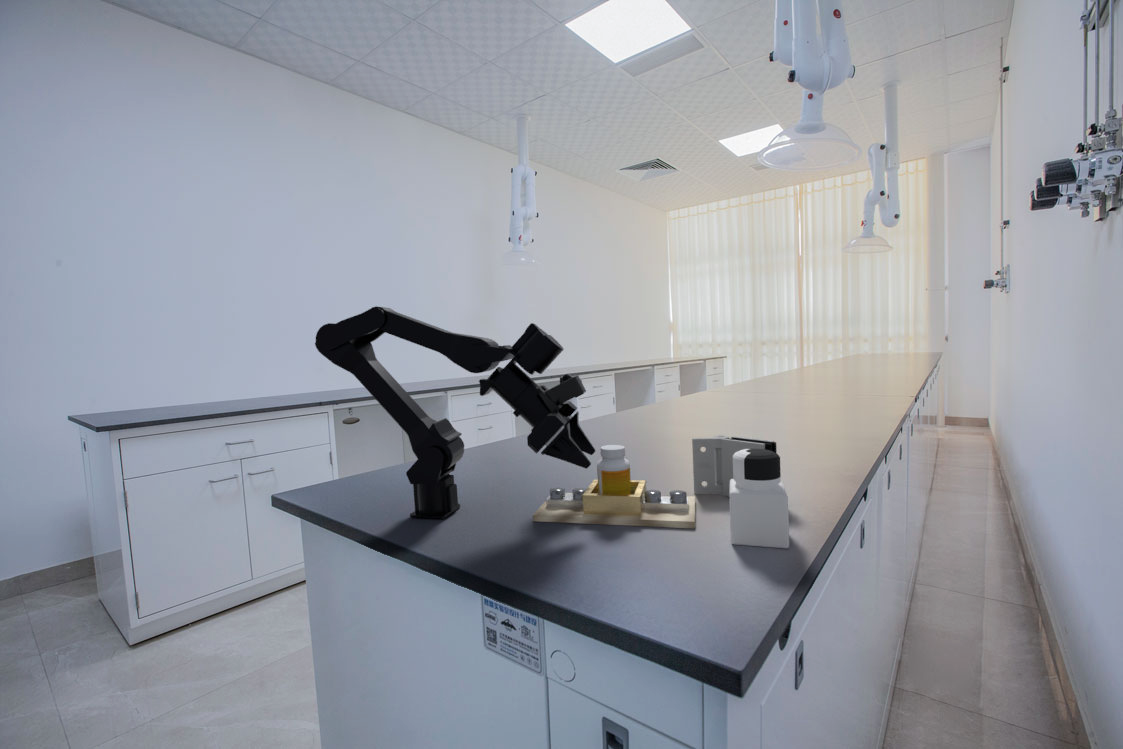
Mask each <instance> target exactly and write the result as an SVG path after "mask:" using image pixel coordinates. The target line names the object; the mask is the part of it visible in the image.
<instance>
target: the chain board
mask: <svg viewBox="0 0 1123 749" xmlns="http://www.w3.org/2000/svg"><path fill="white" fill-rule="evenodd" d="M565 493H566V494H573V493H572V492H565ZM687 497H688V504H689V505H688V512H679V511H652V510H643V511H642V514H641V516H627V515H602V514H584V511H583V508H570V507H546V500H545V501H544V502H543V503H542V504H541V505H540V507H539V508H538V509H537V510H536V511H535V512H534V513H533V514H532V522H542V523H545V522H547V523H549V522H550V523H561V524H562V523H563V524H565V523H567V524H568V523H569V524H585V525H586V524H588V525H591V524H592V525H611V526H613V525H614V526H631V527H652V528H653V527H655V528H675V529H676V528H677V529H678V528H679V529H695V528H696V496H694V495H693V496H692V495H691V496H689V495H687Z"/></svg>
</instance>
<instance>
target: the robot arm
mask: <svg viewBox="0 0 1123 749" xmlns="http://www.w3.org/2000/svg"><path fill="white" fill-rule="evenodd" d="M385 333H386V334H389V335H391V336H394V337H397V338H399V339H402V340H404V341H407V342H410V343H412V344H414V345H415V344H416V345H418V346H421V347H423V348H426V349H429V350H432V351H435V352H436V353H440V354H441V355H443V356H444V357H446V358H447V359H448V360H449V361H450V362H452V363H453V364H455V365H456V366H458V367H460V368H462V369H463V370H465V371H467V372H468V373H471V374H480V373H485V372H490V371H493V370H494V369H495V370H494V371H493V372H492V373H491V374H490V375H489V376H488V377H487V378H480V379H479V380H478V383H479V395H480V397H483V396H486V395H488V394H491V392H492V391H493V392H495V393H496V395H498V397H500V398H501V399H502V400H503V401H504V402H506V404H507V405H508V406H510V407H511V409H513V410H514V411H513V412H512V414H513V415H514V416H515V417H516V418H518V417H521V418H522V419H523V420H524V421H525V422H526V423H527V424H529V426H530V427H531V428H532V429H531V432H530V433H529V435H527V436H526V437H527V438H526V439H527V446H528V447H529V448H530V449H531V450H532V451H533V452H534V453H535V454H537V455H538V453H539V452H540V451H541V450H542V451H541V452H540V454H541V455H542V456H544V455H546V456H547V457H552V458H554V459H558V460H561V461H564V462H566V463H569V464H571V465H572V464H573V465H576V466H577V467H580V468H583V469H588V468H590V467H591V465H592V462H591V461H590V460H589V459H588V457H587V455H586V454H588V455H590V456H592V455H594V454H595V453H596V449H595V447H594V446H593V444H592V443H591V441H590V439H589V438H588V436H587V435H586V433H585V432H584V430H583V429H582V427H581V426H580V423H579V422H580V421H579V414H580V412H579V410H578V407H577V406H576V405H575V404H574V403H573V402H572V401H570V400H571V399H574V398H578V397H580V396H582V395H584V394H585V393H586V392H587V390H586V387H585V386H584V383H583V381H582V379H581V378H580V376H579V375H578V374H577V375H574V376H573V375H572V374H570V373H569V372H568V373H566V374H565V375H563V376H560V377H559V384H557V385H555V386H553V387H551V388H548V387H547V386H546V385H542V384H541V385H538V383H537V382H535V381H534V380H533V379H532V378H531V377H530V376H529V375H534V373H535V372H536V373H537V374H539V375H542V374H543V373H544V372H545V370H546V369H548V367H549V366H551V364H552V363H553V362H554V361H555V360H556V359H557V358H558V357H559V356H560V354H561V353H562V352H563V351H564V349H565V348H564V347H563V346H562V344H560V342H558V340H557V339H555V338H554V337H553V335H550V334H548V333H547V332H545V330H543V329H542V328H540V327H539V326H538V325H537V324H535V323H533V322H532V323H531V322H530V324H529V325H528V326H527V327H526V328H525V331H524V332H523V334H522V335H521V336H520V337H519V338H518V339H517V340H516V342H515V343H513V344H512V345H509V344H508V345H499V343H498V342H497V341H496V340H493V339H492V338H488V337H482V336H476V335H470V334H463V333H456V332H452V331H448V330H446V329H444V328H440V327H438V326H437V325H432V324H430V323H427V322H424V321H422V320H419V319H416V318H413V317H411V316H408V315H406V314H403V313H400V312H398V311H395V310H394V309H393V308H391V307H384V306H378V305H376V306H373V307H371V308H369V309H367V310H365V311H363V312H361V313H358V314H356V315H354V316H351V317H348V318H345V319H343V320H340V321H338V322H336V323H329V322H328V323H325V324H323V325H322V326H321V327H320V328H319V329H318V330H317V332H316V335H315V342H314V345H315V348H316V349H317V351H318V352H319V353H320V354H321V355H322V356H323V357H325V358H326V359H328V361H329V362H330V363H332V364H334V365H335V366H337V367H339V368H341V369H343V370H345V371H347V372H349V373H350V374H351V375H353V376H354V377H355V378H356V379H357V381H359V383H360V384H361V385H362V386H363V387H364V388H365V389H366V390H367V391H368V392H369V393H370V395H371V396H372V397H373V398H374V399H375V400H376V401H377V403H378V404H379V405H380V406H381V407H382V408H383V409H384V410H385V412H387V414H388V415H389V416H390V417H391V418H392V419H393V421H395V422H396V424H397V425H398V426H399V427H400V428H401V429H402V430H403V431H404V432H405V433H406V435H407V437H408V440H409V443H410V447H411V450H412V452H413V454H414V455H415V457H416V459H417V460H416V461H414V463H413V464H412V465H411V466H410V468H408V470H407V471H406V477H407V479H408V482H409V484H410V485H412V487H413V488H412V489H413V502H414V511H413V512H411V513H409V517H410V518H418V519H419V518H420V519H422V518H423V519H439V520H440V519H441V520H442V519H445V518H446V517H448V516H450V514H453V513H454V512H455V511H456V510H458V509H459V508H460V507H461V504H460V503H459V500H458V498H459V497H458V485H457V484H456V483H455V476H454V474H451V473H452V472H454V471H455V469H456V466H457V463H458V462H460V461H461V459H463V456H464V454H465V443H464V441H463V439H462V438H461V436H462V435H463V434H462V433H461V432H460V431H458V430H456V428H454V427H453V425H452V423H451V422H450V421H449V419H448V418H446V417H444V418H443V419H439V420H438V421H437V420H435V419H433V418H432V417H430V415H428V413H426V412H425V411H424V410H423V408H422V407H421V406H420V405H419V404H418V403H417V402H416V401H415V399H413V398H412V397H411V395H410V394H409V393H408V392H407V391H406V390H405V389H404V388H403V387H402V385H400V383H398V381H397V380H396V379H395V378H394V376H392V375H391V373H390V372H389V371H388V370H387V369H386V367H384V366H383V364H382V363H381V362H380V361H379V360H378V359H377V357H376V354H375V350H374V347H373V345H372V342H374V341H376V340H378V339H379V338H380V337H381V336H383V335H384V334H385ZM508 360H509V362H508V363H506V365H505V366H504V367H501V366H499V364H500V363H501V362H504V361H508ZM516 363H517V364H518V365H517V364H516ZM519 366H520V367H519ZM522 369H523V370H522ZM526 373H528V374H529V375H528V374H526ZM576 410H578V411H576ZM574 413H575V414H574ZM573 414H574V415H573ZM572 415H573V416H572ZM543 447H544V449H543ZM585 453H586V454H585Z"/></svg>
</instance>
